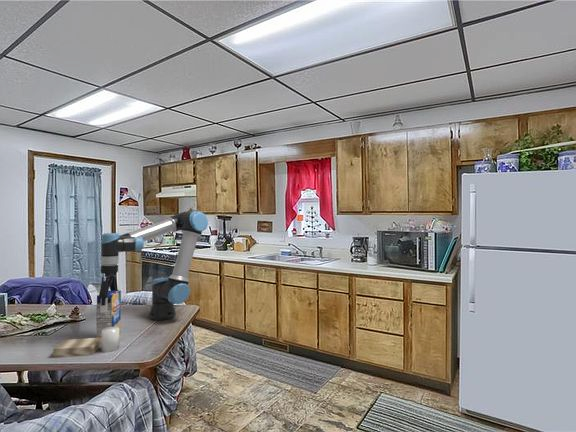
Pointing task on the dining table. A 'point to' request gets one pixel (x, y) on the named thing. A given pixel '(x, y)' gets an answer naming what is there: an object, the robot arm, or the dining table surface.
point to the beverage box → (109, 312)
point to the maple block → (77, 347)
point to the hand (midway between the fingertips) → (108, 308)
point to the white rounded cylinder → (110, 339)
